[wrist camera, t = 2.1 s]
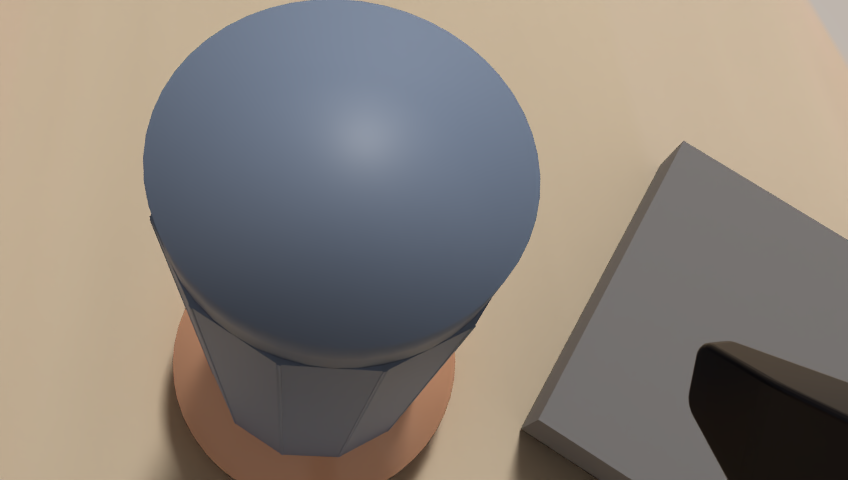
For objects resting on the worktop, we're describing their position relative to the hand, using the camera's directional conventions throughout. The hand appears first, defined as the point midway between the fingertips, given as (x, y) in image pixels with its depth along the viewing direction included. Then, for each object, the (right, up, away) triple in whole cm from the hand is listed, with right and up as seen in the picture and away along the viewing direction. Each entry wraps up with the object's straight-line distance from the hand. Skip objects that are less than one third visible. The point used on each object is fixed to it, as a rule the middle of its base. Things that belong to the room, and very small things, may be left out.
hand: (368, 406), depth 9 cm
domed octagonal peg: (-2, -1, +9) cm, 10 cm away
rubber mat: (+10, -2, +12) cm, 16 cm away
